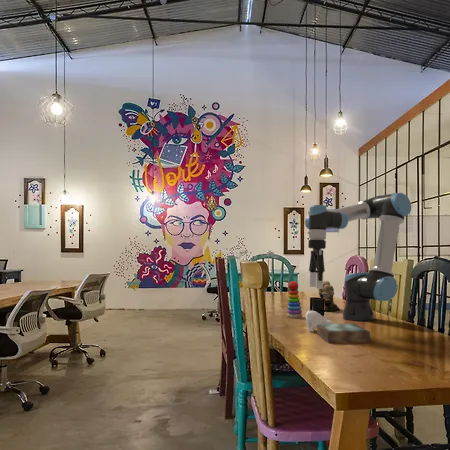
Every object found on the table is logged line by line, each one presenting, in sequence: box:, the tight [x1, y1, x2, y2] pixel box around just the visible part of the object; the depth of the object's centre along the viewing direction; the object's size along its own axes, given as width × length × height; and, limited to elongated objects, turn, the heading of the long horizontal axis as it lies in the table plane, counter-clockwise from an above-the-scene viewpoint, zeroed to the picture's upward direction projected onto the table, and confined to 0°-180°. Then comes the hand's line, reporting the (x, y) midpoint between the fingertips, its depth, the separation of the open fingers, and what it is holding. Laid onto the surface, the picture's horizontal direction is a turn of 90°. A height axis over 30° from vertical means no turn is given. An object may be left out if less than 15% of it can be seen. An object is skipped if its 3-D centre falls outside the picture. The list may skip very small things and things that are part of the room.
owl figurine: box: [318, 280, 340, 313], centre depth 242 cm, size 18×12×17 cm, turn 164°
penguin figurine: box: [304, 310, 334, 333], centre depth 179 cm, size 6×8×12 cm
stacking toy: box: [286, 280, 303, 319], centre depth 217 cm, size 8×8×19 cm
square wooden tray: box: [316, 323, 371, 344], centre depth 163 cm, size 16×16×4 cm
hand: (315, 287), depth 182 cm, fingers open, 13 cm apart
